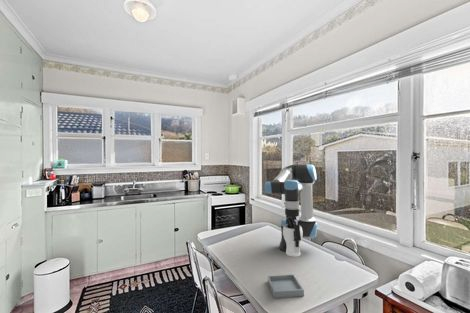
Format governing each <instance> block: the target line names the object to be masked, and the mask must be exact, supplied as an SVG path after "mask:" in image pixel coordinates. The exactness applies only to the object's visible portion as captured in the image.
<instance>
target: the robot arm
mask: <svg viewBox="0 0 470 313" xmlns="http://www.w3.org/2000/svg"><path fill="white" fill-rule="evenodd" d="M315 181H317V170H316V167H315V166H314V165H313V164H309V163H307V164H290V165H287V166H284V167H283V168H281V169H280V171H279V173H278V174H277V176H275V178H274V179H273V180H272V181H271V180H270V181H269V180H268V181H266V182H265V183H264V187H263V188H264V189H263V190H264V192H265V193H266V194H268V195H269V194H270V195H273V194H274V195H284V206H285V208H284V215H285V218H282V219H281V220H280V222H281V223H280V229H281V233H280V234H281V239H280V241H279V249H280V251H282V252H285V253H286V248H287V245H286V241H285V239H284V236H283V227H284V225H286V224H288V228H289V229H294V230H295V231H293V232H294V240H293V241H294V253H299V248H300V247H301V246H299V241H301V242H302V240H301V236H300V228H299V225H300V226H301V227H302V231H303V236H302V238H308V239H315V238H316V237H317V234H318V227H319V222H317V221H316V218H315V217H314V203H313V202H314V201H313V200H314V198H313V197H314V196H313V185H314V184H315ZM299 196H300V198H299ZM299 216H300V217H299ZM297 217H299V218H298V219H297Z"/></svg>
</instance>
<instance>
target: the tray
mask: <svg viewBox="0 0 470 313" xmlns="http://www.w3.org/2000/svg"><path fill="white" fill-rule="evenodd" d="M267 284H268V286H269V288H270V291H271V293H272V296H273V298H274V299H281V298H291V297H304V296H305V290H304V288H303V286H302V285H301V283H300V282H299V279H297V276H296V275H295V274H290V273H289V274H279V275H278V274H276V275H267Z"/></svg>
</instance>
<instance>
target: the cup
mask: <svg viewBox="0 0 470 313" xmlns="http://www.w3.org/2000/svg"><path fill="white" fill-rule="evenodd" d="M299 228H300V236H301V241H299V246H300V243H301V242H302V239H303V237H302V236H303V231H302V227H301V226H300V225H299ZM293 231H295V230H294V229H289V228H288V224H286V225H284V227H283V236H284V239H285V241H286V245H287V248H286V252H285V255H287V256H290V257H299V256H301V249H300V248H299V253H294V241H293V240H294V232H293ZM300 247H301V246H300Z"/></svg>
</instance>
